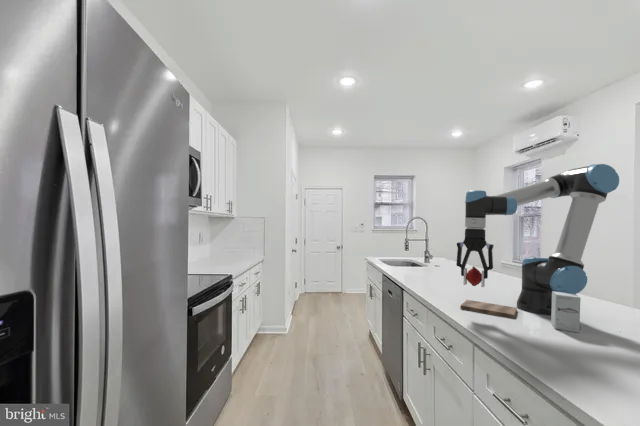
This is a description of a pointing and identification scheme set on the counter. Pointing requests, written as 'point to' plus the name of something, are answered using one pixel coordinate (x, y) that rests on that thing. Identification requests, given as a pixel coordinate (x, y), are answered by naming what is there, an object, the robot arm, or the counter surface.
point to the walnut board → (489, 308)
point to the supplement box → (565, 311)
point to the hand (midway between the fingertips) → (473, 285)
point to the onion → (474, 276)
